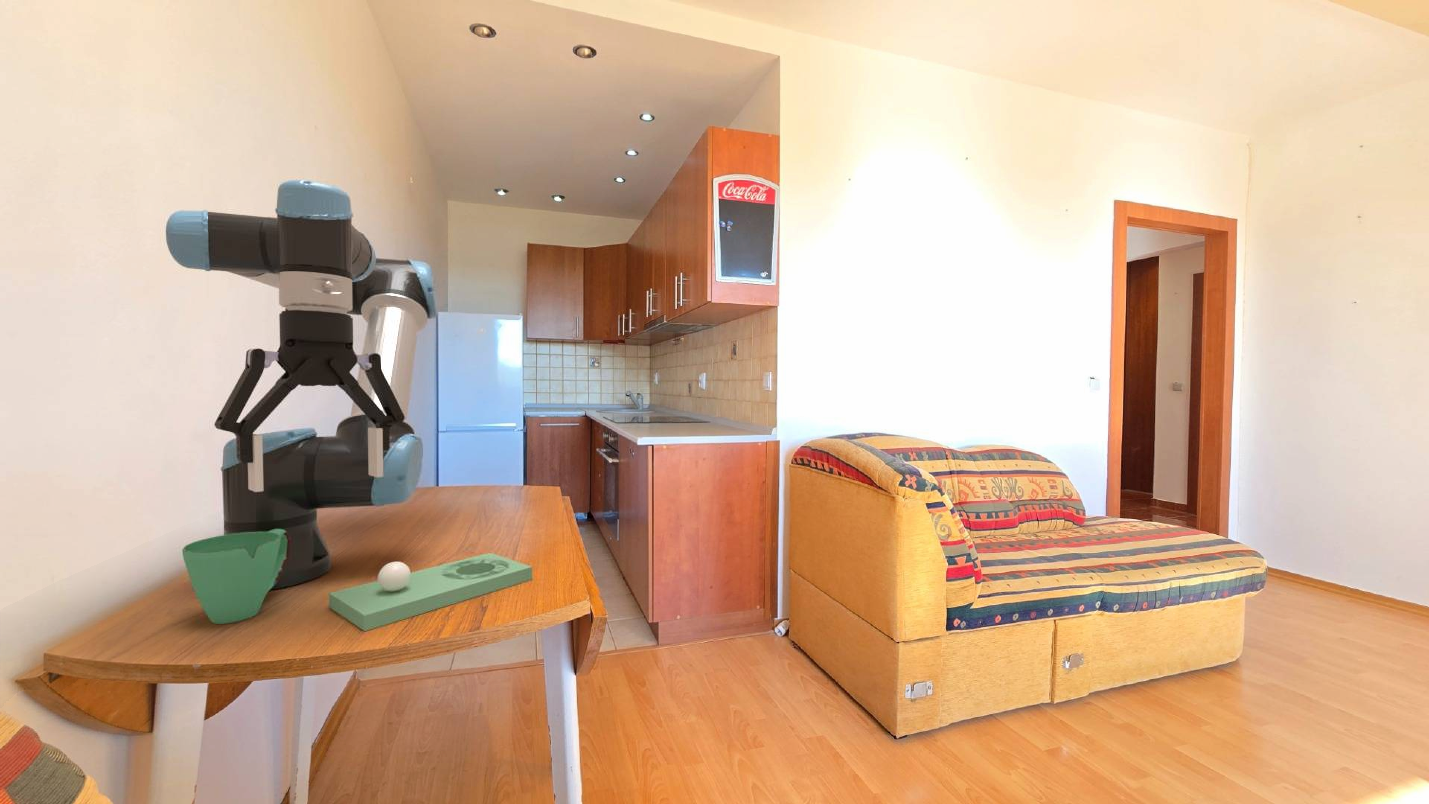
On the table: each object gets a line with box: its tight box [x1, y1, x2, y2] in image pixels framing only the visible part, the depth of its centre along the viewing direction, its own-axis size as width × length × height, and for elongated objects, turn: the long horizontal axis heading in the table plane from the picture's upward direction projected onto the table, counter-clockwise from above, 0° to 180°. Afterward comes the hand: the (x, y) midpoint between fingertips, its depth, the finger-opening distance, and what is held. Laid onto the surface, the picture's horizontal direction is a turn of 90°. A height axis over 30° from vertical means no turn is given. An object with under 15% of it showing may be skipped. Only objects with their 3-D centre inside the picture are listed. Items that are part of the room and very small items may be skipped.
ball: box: [377, 561, 411, 592], centre depth 78 cm, size 4×4×4 cm
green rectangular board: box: [328, 552, 533, 632], centre depth 83 cm, size 24×12×2 cm, turn 142°
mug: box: [182, 529, 290, 625], centre depth 77 cm, size 15×10×10 cm
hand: (320, 482), depth 71 cm, fingers open, 12 cm apart
